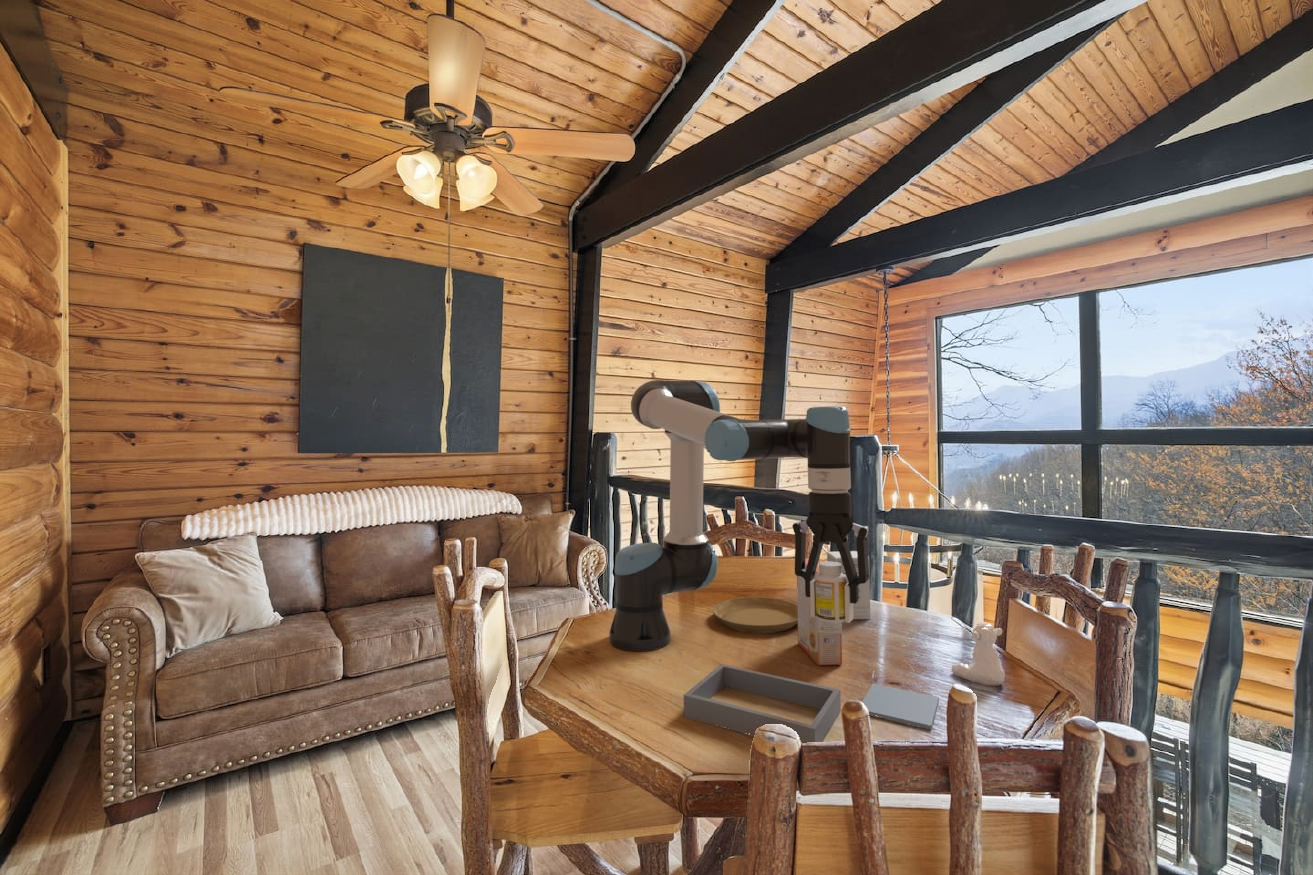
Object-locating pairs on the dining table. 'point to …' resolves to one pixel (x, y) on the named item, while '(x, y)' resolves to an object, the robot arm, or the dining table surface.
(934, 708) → the mat
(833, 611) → the supplement bottle
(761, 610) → the plant saucer
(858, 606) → the supplement box
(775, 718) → the bin
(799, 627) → the cracker box
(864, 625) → the dining table surface
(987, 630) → the white creature statuette
